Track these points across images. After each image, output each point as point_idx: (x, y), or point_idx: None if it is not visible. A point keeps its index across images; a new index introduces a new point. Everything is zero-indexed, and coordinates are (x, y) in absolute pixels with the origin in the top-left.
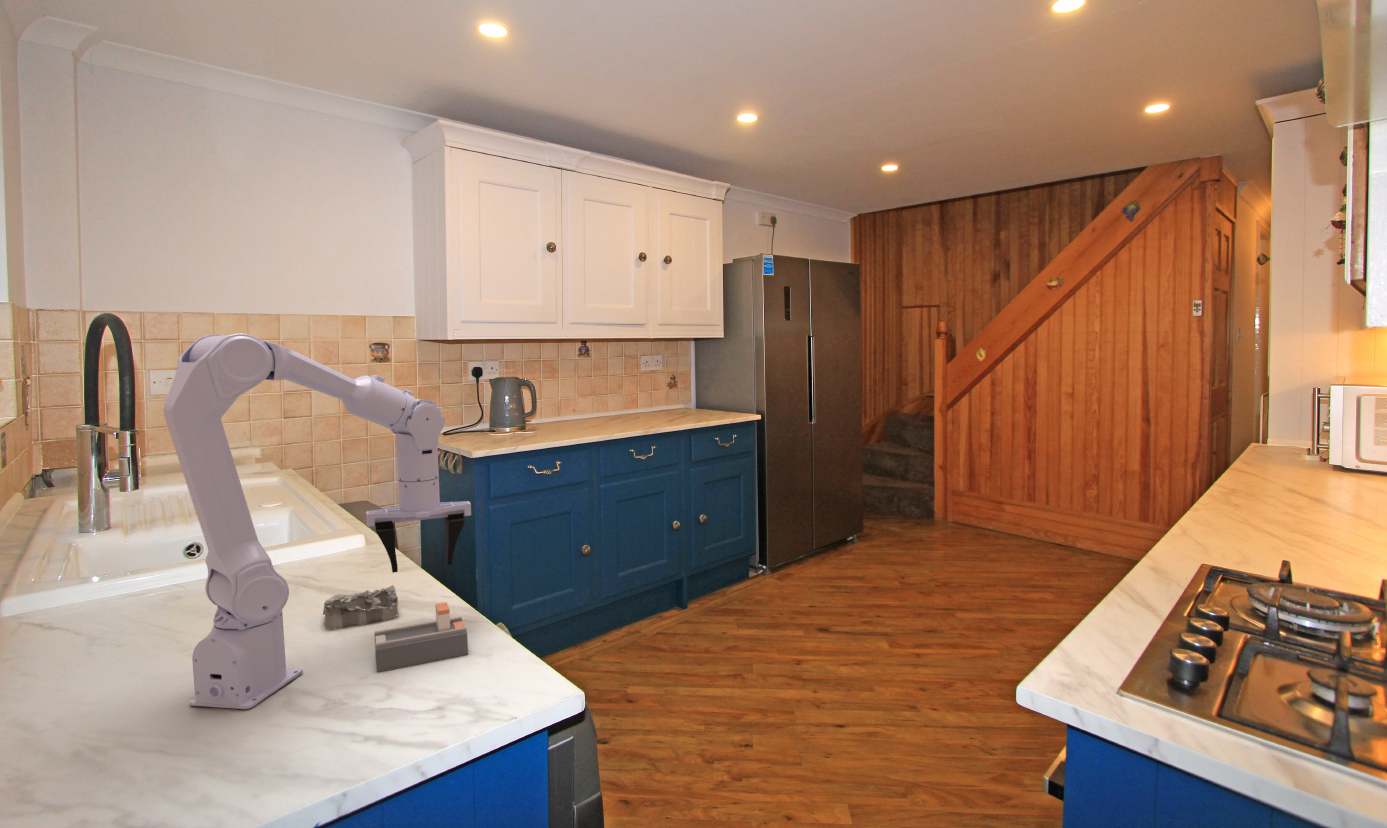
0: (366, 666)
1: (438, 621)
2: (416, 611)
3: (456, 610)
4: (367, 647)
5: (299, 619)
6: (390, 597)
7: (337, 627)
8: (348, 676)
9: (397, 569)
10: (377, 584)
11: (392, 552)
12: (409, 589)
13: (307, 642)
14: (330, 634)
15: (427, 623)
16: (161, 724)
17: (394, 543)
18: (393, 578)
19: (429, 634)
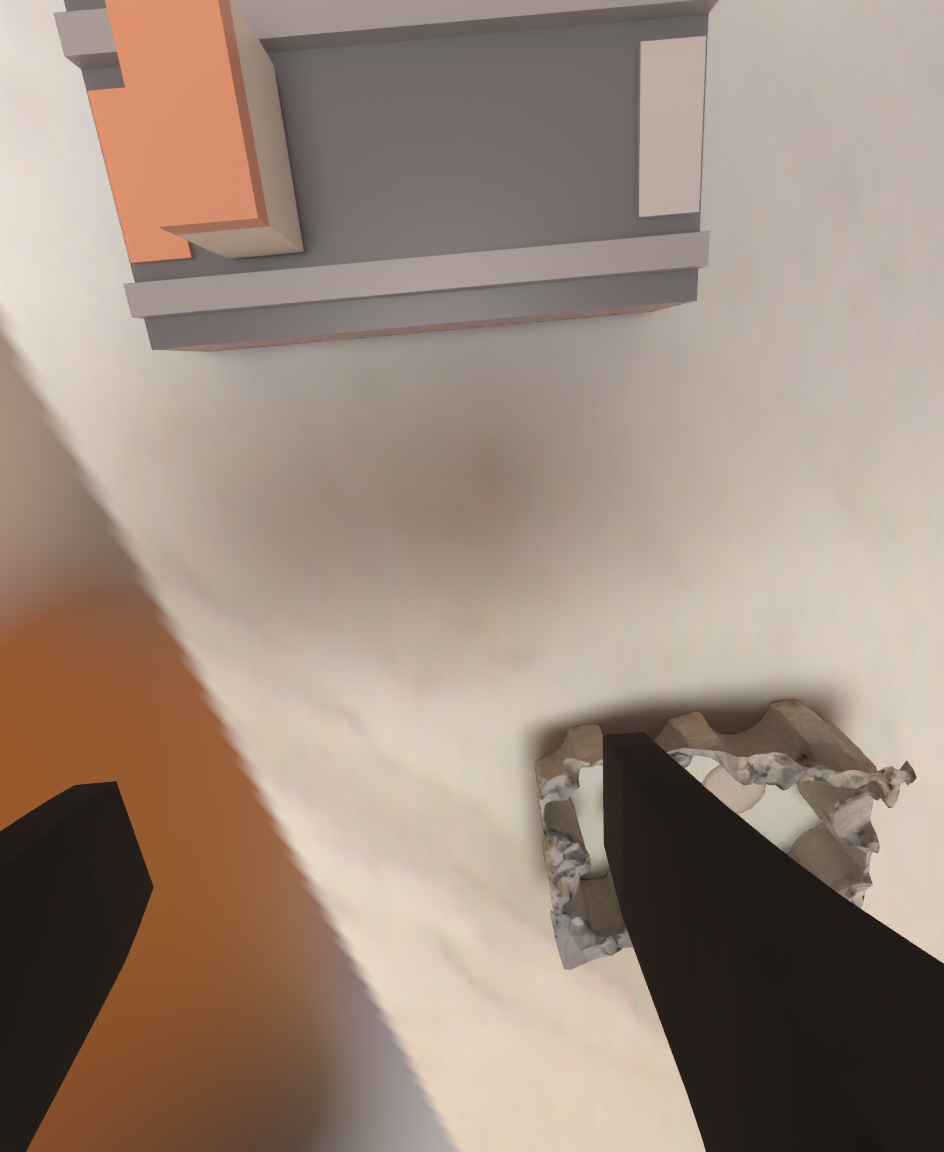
0: (703, 147)
1: (246, 23)
2: (453, 779)
3: (266, 731)
4: (682, 423)
5: (917, 848)
6: (576, 859)
7: (794, 703)
8: (801, 34)
9: (610, 745)
10: (607, 1086)
11: (755, 881)
12: (485, 1011)
13: (923, 594)
14: (823, 649)
15: (363, 268)
16: None
17: (810, 1028)
18: (546, 1123)
19: (336, 4)
